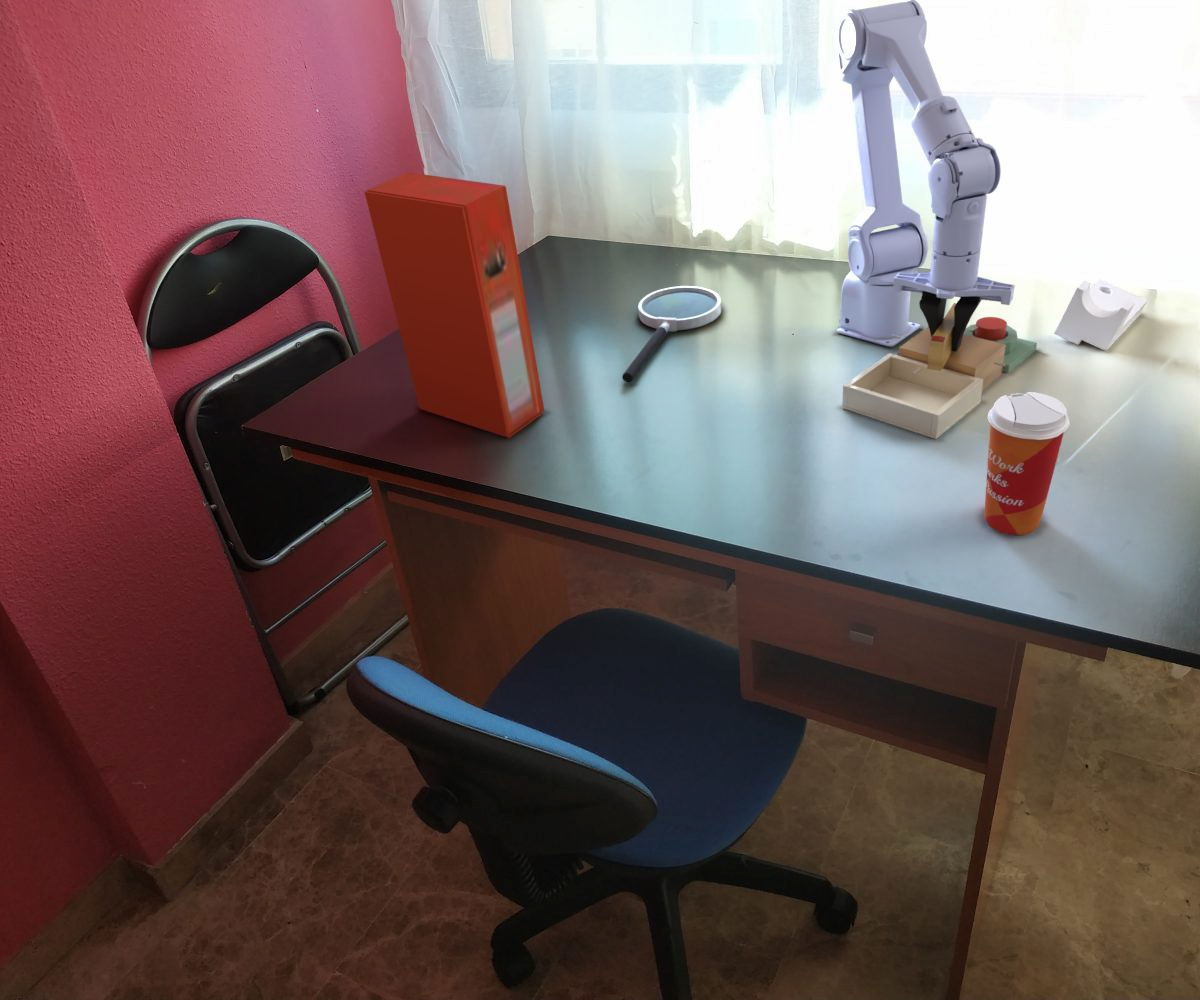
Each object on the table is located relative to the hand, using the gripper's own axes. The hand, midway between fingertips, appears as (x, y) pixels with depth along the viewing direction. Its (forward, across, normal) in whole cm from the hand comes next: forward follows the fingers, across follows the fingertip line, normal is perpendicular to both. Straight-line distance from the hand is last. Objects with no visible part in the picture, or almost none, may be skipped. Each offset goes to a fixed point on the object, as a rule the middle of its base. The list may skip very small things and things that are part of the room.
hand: (946, 346), depth 130 cm
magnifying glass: (+5, -43, 0) cm, 43 cm away
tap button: (+2, +4, +10) cm, 11 cm away
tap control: (+5, +4, +10) cm, 11 cm away
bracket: (+5, +16, +22) cm, 28 cm away
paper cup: (+5, +15, -28) cm, 32 cm away
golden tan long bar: (0, 0, 0) cm, 0 cm away
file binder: (+5, -57, -29) cm, 64 cm away
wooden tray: (+5, -2, -8) cm, 10 cm away
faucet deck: (+5, 0, 0) cm, 5 cm away
